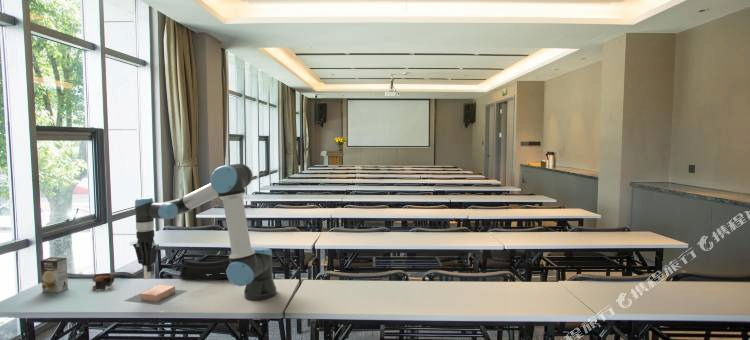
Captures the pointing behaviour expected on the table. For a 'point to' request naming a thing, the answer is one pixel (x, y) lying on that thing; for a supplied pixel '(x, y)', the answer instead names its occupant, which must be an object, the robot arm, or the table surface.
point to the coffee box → (54, 274)
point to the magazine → (204, 270)
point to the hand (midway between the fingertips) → (147, 278)
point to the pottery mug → (102, 281)
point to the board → (157, 293)
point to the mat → (138, 300)
